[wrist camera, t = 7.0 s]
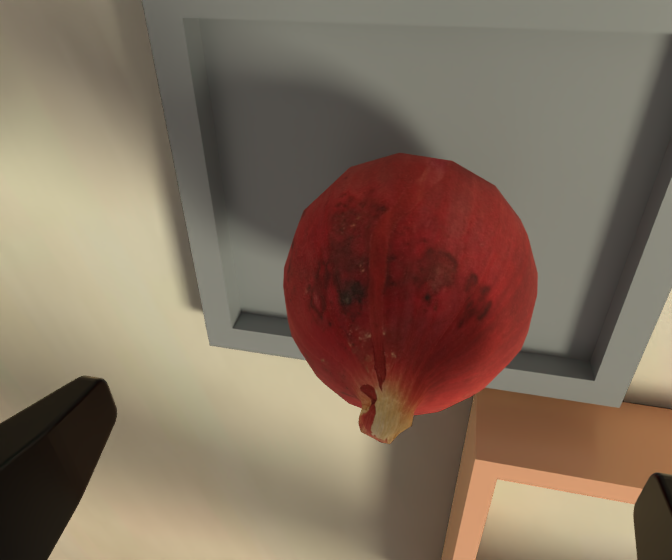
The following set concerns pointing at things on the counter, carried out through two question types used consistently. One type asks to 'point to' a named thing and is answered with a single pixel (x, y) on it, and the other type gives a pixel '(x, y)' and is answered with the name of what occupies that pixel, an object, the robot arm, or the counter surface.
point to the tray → (433, 152)
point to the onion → (409, 288)
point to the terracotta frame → (552, 454)
